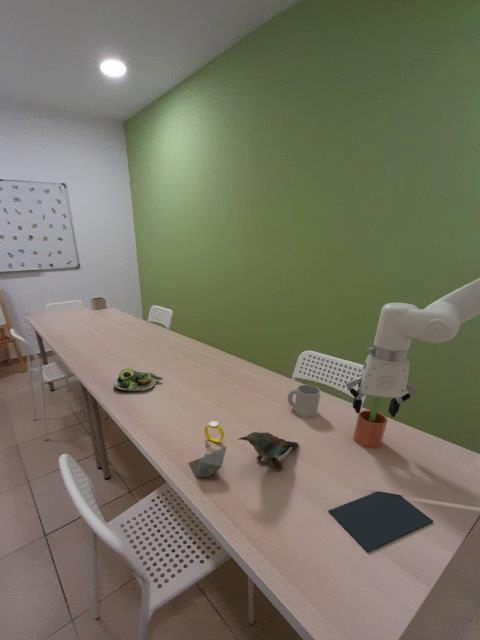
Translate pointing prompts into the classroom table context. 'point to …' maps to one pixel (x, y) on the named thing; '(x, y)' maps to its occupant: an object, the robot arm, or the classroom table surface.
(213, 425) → the gold diamond ring
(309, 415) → the cup
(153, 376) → the salad plate
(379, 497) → the mat
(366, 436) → the tumbler
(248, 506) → the classroom table surface
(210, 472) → the paper boat
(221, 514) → the classroom table surface
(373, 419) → the green square stick
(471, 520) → the classroom table surface
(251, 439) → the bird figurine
